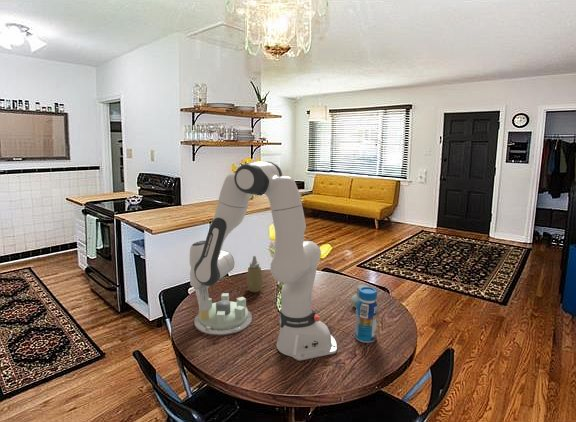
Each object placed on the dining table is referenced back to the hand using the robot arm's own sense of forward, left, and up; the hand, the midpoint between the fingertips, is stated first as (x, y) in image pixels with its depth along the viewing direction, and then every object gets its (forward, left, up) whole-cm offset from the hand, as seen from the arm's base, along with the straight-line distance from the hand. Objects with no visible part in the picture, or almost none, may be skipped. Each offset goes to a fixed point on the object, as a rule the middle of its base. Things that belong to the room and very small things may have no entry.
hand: (202, 310), depth 152 cm
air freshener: (-72, -5, -6) cm, 72 cm away
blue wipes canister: (-64, +20, -6) cm, 67 cm away
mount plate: (-9, -1, -5) cm, 10 cm away
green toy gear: (-9, -1, -4) cm, 9 cm away
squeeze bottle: (-24, -30, -6) cm, 39 cm away
